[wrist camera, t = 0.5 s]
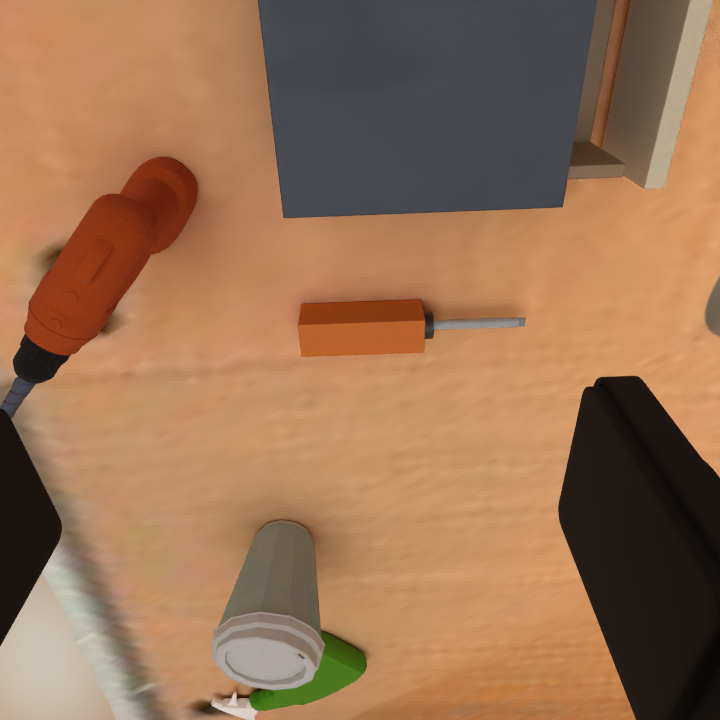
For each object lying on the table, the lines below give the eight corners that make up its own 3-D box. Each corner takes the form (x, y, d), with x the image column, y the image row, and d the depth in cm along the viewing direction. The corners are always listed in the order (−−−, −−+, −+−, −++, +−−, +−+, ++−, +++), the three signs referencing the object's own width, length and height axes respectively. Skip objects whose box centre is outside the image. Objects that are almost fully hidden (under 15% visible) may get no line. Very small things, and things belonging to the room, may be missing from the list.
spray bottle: (373, 655, 76) (262, 713, 86) (315, 624, 72) (205, 689, 82) (374, 677, 74) (259, 734, 84) (313, 646, 70) (200, 710, 80)
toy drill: (39, 329, 46) (-70, 435, 33) (155, 140, 40) (79, 175, 27) (95, 360, 48) (12, 472, 34) (213, 183, 42) (169, 236, 28)
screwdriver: (304, 334, 48) (301, 357, 45) (301, 303, 46) (297, 325, 43) (517, 326, 48) (528, 349, 45) (521, 295, 46) (533, 316, 43)
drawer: (685, -73, 32) (763, -90, 26) (633, 158, 39) (684, 187, 33) (397, -59, 32) (406, -72, 26) (397, 167, 39) (404, 198, 33)
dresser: (554, -79, 32) (614, -101, 25) (524, 167, 40) (562, 207, 33) (273, -65, 33) (248, -83, 25) (297, 176, 40) (283, 218, 33)
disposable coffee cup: (275, 576, 67) (256, 710, 54) (215, 527, 62) (179, 662, 49) (348, 544, 63) (345, 679, 51) (291, 490, 59) (273, 624, 46)
